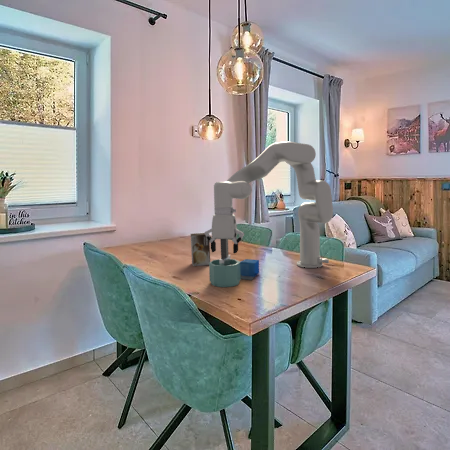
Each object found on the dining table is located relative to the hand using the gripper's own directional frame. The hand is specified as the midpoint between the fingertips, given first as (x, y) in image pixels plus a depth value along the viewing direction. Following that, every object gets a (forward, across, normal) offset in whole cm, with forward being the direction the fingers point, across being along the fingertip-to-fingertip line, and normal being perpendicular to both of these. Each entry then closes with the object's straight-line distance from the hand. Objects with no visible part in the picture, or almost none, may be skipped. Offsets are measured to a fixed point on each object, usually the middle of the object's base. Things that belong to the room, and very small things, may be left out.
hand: (224, 252), depth 147 cm
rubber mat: (+13, -4, -11) cm, 18 cm away
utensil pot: (+13, 0, 0) cm, 13 cm away
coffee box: (+13, +23, -27) cm, 38 cm away
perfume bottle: (+10, -11, -14) cm, 20 cm away
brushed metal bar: (+12, 0, -1) cm, 12 cm away
